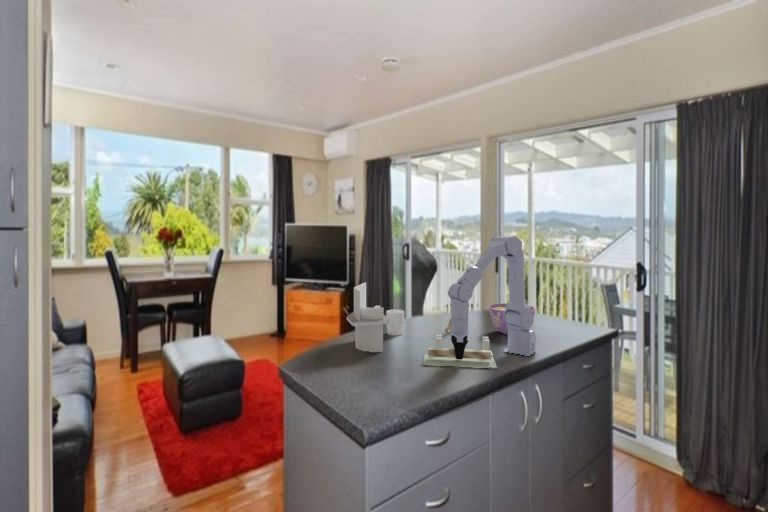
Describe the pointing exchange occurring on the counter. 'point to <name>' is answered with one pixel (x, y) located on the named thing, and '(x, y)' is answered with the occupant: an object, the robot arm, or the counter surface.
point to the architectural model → (367, 322)
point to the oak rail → (467, 354)
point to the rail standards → (485, 347)
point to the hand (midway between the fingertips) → (459, 357)
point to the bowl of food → (501, 316)
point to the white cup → (395, 322)
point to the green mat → (458, 362)
